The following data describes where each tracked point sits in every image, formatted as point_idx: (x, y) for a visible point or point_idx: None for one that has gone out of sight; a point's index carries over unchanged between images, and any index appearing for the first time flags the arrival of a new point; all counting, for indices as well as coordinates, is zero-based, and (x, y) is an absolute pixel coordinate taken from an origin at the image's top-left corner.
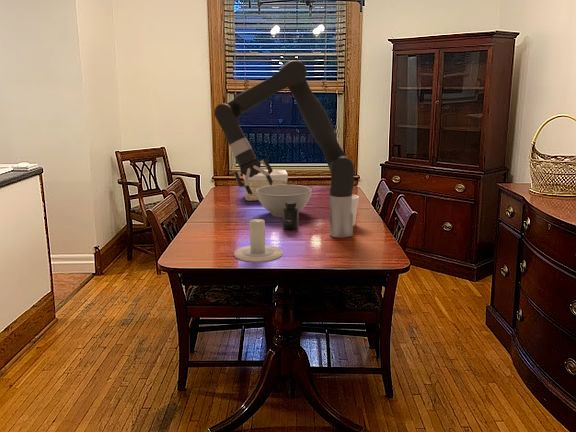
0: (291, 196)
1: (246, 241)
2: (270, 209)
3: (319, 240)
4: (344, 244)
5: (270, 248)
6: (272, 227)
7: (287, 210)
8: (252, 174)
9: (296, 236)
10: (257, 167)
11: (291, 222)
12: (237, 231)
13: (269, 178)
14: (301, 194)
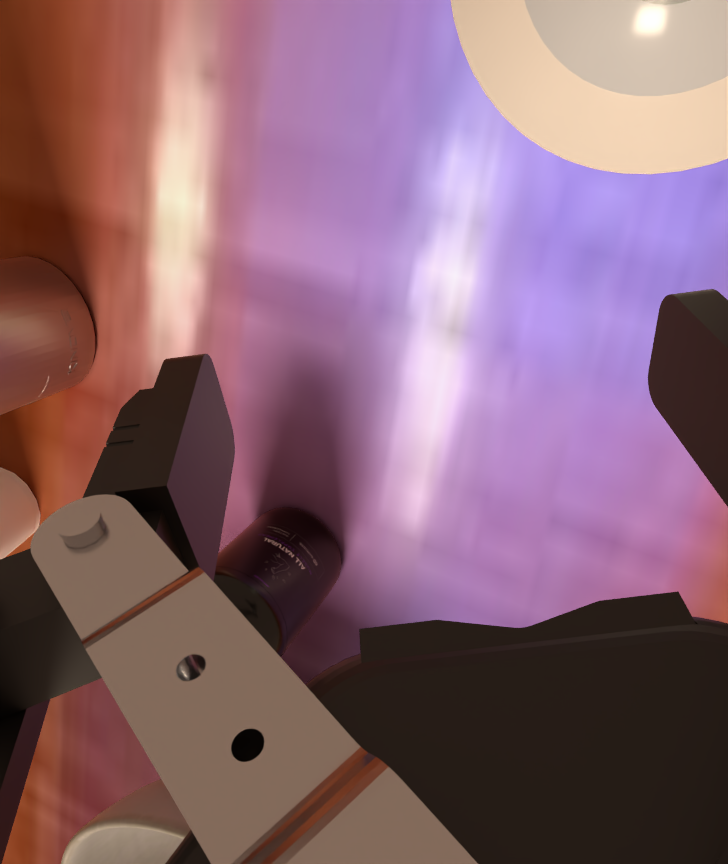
0: (181, 825)
1: None
2: None
3: (157, 241)
4: (25, 110)
5: (534, 24)
6: (402, 623)
7: (249, 603)
8: (616, 658)
9: (284, 376)
10: (264, 859)
11: (270, 534)
12: None
13: (135, 439)
14: (116, 820)
